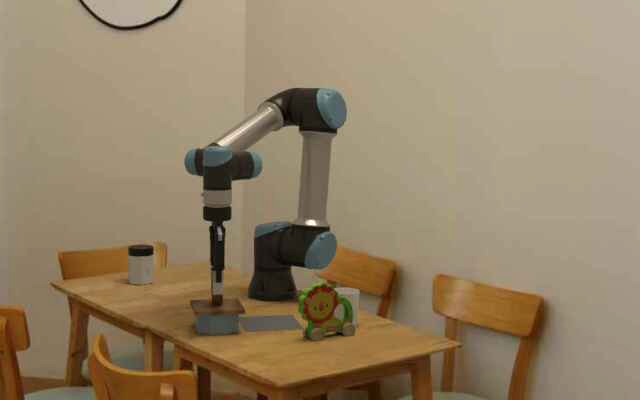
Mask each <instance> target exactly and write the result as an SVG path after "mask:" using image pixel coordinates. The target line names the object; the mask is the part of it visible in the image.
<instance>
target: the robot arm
mask: <svg viewBox="0 0 640 400" xmlns="http://www.w3.org/2000/svg"><path fill="white" fill-rule="evenodd" d="M347 114H348V110H347V104H346V101H345V98H343V95H342V94H341V92H339V91H338V90H336V89H334V88H325V87H292V88H288V89H285V90H282V91H280V92H278V93H276V94H273V95H272V96H271V97H269V98H267V99H266V100H264V101H262V102H261V103H260V104H259V105H258V106H257V110H256V111H254V112H253V113H252V114H250V115H249V116H247V117H246V118H245V119H243V120H242V121H241V122H239V123H238V124H236V125H235V126H233V127H232V128H231V129H229V130H227V131H225V133H223V134H222V135H220V136H219V137H218V138H216V139H214V141H212V142H210V143H209V144H208V145H206V146H204V147H203V148H199V147H198V148H191V149H190V150H189V149H188V151H187V152H186V154H185V155H184V167H185V170H186V172H187V173H188V174H190V175H192V176H197V177H202V183H203V185H202V191H203V192H200V197H202V204H203V207H202V218H203V220H204V221H206V222H211V223H210V225H209V226H208V232H209V249H210V250H209V263H210V291H211V292H212V271H213V295H220V294H223V295H224V275H225V274H224V270H225V267H226V266H225V265H226V262H225V261H226V260H225V259H226V257H225V256H226V255H225V251H226V250H225V249H226V247H225V246H226V227H225V225H224V222H228V221H229V222H230V221H231V220H232V219H233V218H232V215H233V214H232V206H231V204H233V201H232V200H233V195H232V194H233V188H232V186H233V184H232V182H233V181H242V180H243V181H244V180H247V181H248V180H251V179H255V178H258V177H259V176H260V174H261V173H262V171H263V161H262V157H261V156H260V155H259V154H258V153H257V152H256V151H247V150H249V149H250V148H251V147H253V146H254V145H256V144H257V143H258V142H260V141H261V140H262V139H264V138H265V137H266V136H268V135H269V134H270V133H271V132H278V131H280V130H281V129H284V128H285V127H298V133H299V134H300V135H301V137H302V149H301V150H302V151H301V163H300V164H301V165H300V175H299V176H300V177H299V178H300V179H299V190H298V203H297V205H298V206H297V217H296V218H295V219H294V220H293V221H292V222H291V221H288V220H287V221H284V220H283V221H273V222H265V223H260V224H257V225H256V226H255V228H254V233H253V235H254V237H253V274H252V277H251V279H250V282H249V286H248V290H247V296H248V297H249V298H251V299H252V300H256V301H264V302H282V301H288V300H292V299H296V298H297V296H298V290H297V285H296V281H295V279H294V276H293V272H292V267H295V268H304V269H308V270H317V271H318V270H319V271H320V270H324V269H326V268H327V267H329V265H330V264H331V263H332V262H333V260H334V258H335V256H336V253H337V251H338V250H337V248H338V240H337V237H336V235H335V233H333V232H331V224H330V223H329V222H328V221H327V209H328V208H327V206H328V196H329V195H328V193H329V182H330V167H331V154H332V141H333V139H335V137H337V135H338V129H340V128H342V127H344V125H345V123H346V120H347V116H348V115H347ZM212 267H213V268H212Z"/></svg>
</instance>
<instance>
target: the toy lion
mask: <svg viewBox="0 0 640 400" xmlns="http://www.w3.org/2000/svg"><path fill="white" fill-rule="evenodd" d="M339 304H343V306H344V318H343V320H340V319H338V318H336V317H334V311H335V309H336V307H337V306H338V305H339ZM297 310H298V311H297V312H298V313H299V314H301V318H302V320H304V321H306V322H307V325H306V326H304V327H303V328H304V329H302V336H303V337H304V338H306V339H308V338H309V339H310V340H311V341H312V342H321V341H323V340H324V338H325V335H326V334H329V333H338V334H342V335H343V336H344V337H351V336H354V335H355V333H356V328H355V326H354V325H353V324H352V322H353V309H352V305H351V303H350V302H349V301H348V300H347V299H346V298H344V297H341V296H339V295H338V292H337V291H335V287H334V285H331V284H328V283H326V282H324V281H318V282H317V283H311V284H310V285H308V287H306V288H304V289H303V291H302V294H301V295H300V296H299V298H298V306H297Z"/></svg>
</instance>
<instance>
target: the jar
mask: <svg viewBox="0 0 640 400" xmlns="http://www.w3.org/2000/svg"><path fill="white" fill-rule="evenodd" d="M127 249H128V250H127V251H128V252H127V253H128V256H127V257H128V284H129V283H135V284H147V283H152V282H154V283H155V271H154V269H155V267H154V266H155V265H154V264H155V262H154V261H155V260H154V254H155V253H154V252H155V251H154V250H155V249H154V246H153V245H151V244H133V245H132V244H131V245H129V246H128V247H127Z"/></svg>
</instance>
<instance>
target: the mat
mask: <svg viewBox="0 0 640 400" xmlns="http://www.w3.org/2000/svg"><path fill="white" fill-rule="evenodd" d="M239 325H241V327H242V329H243V332H245V333H253V332H257V333H258V332H275V331H278V332H279V331H294V330H295V331H297V330H303V329H304V327H303V326H302V325H301V323H300V322H299V321H298V319H296V317H295V316H294V315H293V314H279V315H276V314H275V315H274V314H273V315H252V316H250V315H249V316H239Z"/></svg>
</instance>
